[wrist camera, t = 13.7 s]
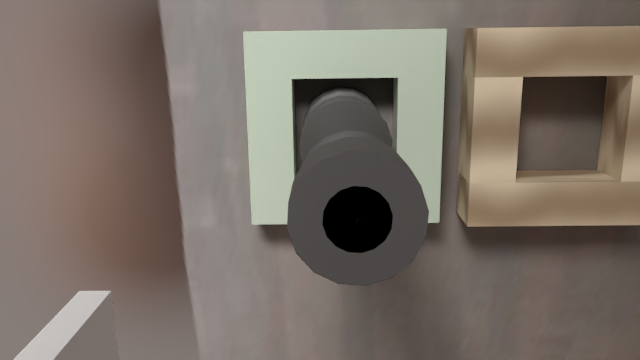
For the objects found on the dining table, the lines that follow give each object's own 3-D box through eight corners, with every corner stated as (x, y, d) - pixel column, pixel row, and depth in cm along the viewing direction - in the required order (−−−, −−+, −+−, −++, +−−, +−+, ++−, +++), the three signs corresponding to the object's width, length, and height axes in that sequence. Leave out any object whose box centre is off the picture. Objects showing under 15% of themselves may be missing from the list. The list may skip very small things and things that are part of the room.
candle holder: (389, 97, 46) (456, 166, 22) (367, 169, 48) (409, 307, 24) (315, 77, 46) (301, 125, 22) (296, 150, 48) (263, 271, 23)
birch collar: (464, 28, 45) (477, 28, 41) (657, 25, 45) (688, 25, 41) (456, 211, 49) (467, 226, 45) (634, 209, 48) (661, 224, 45)
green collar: (248, 31, 45) (243, 31, 42) (439, 28, 45) (446, 28, 42) (256, 213, 49) (252, 224, 46) (432, 211, 49) (439, 222, 46)
